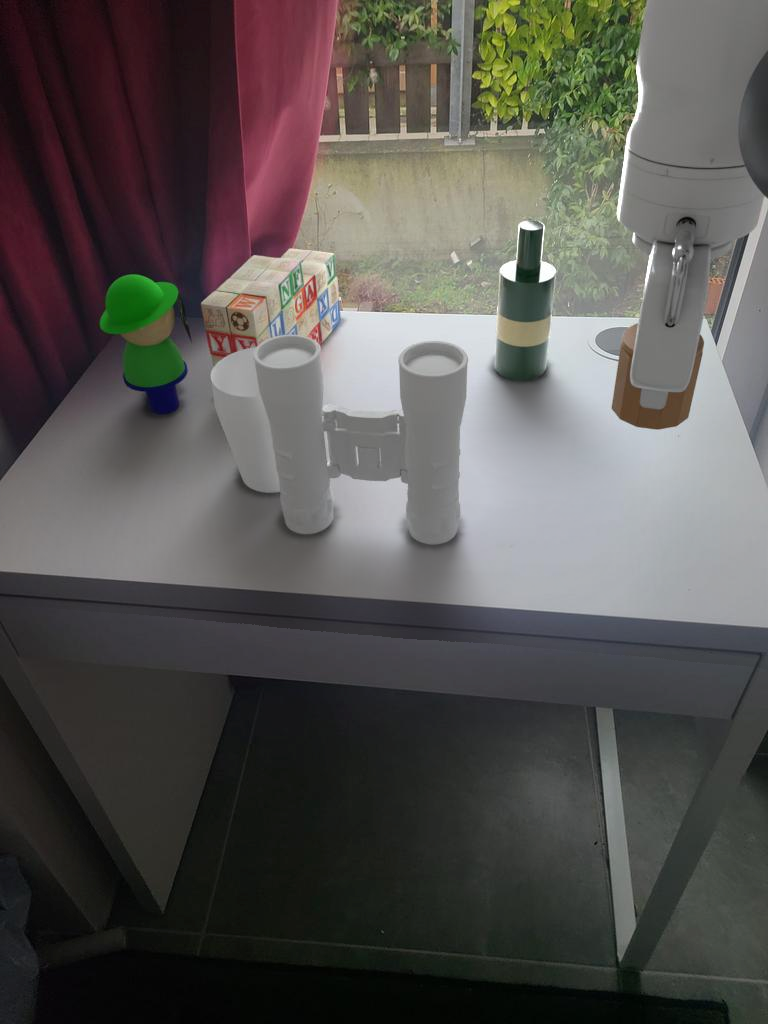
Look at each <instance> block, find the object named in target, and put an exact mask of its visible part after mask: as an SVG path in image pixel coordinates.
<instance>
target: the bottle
mask: <svg viewBox="0 0 768 1024" xmlns="http://www.w3.org/2000/svg"><path fill="white" fill-rule="evenodd" d="M544 233H545V224H544V223H543V222H541V221H538V220H525V221H521V222H520V223H519V224H518V234H517V246H516V248H517V250H516V259H515V260H512V261H508V262H506V263H504V264H502V266H501V267H500V269H499V278H498V279H499V280H498V296H497V298H498V299H497V308H496V321H495V322H496V323H495V324H496V325H495V349H494V366H493V367H494V370H495V372H496V373H497V374H498V375H499V376H500V377H503V378H505V379H509V380H513V381H530V380H534V379H537V378H539V377H541V376H542V375H544V374H545V373H546V370H547V363H548V356H549V355H548V354H549V345H550V336H551V330H552V329H551V328H552V322H553V321H552V320H553V307H554V306H553V305H554V298H555V297H554V296H555V287H556V279H557V278H556V277H557V270H556V267H554V266H553V265H552V264H550V263H548V262H546V261H543V260H542V256H543V244H544Z"/></svg>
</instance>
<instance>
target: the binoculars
mask: <svg viewBox="0 0 768 1024" xmlns="http://www.w3.org/2000/svg"><path fill="white" fill-rule="evenodd" d="M321 353H322V349H321V344H320V345H319V344H318V343H317V342H316V341H315V340H313V339H312V338H309V337H307V336H302V335H281V336H276V337H273V338H270V339H267V340H265V341H264V342H262V343H260V344H259V345H258V346H257V347H256V348H255V350H254V352H253V359H254V362H255V368H256V374H257V380H258V386H259V392H260V395H261V398H262V401H263V404H264V407H265V410H266V413H267V416H268V419H269V421H270V427H271V433H272V440H273V443H272V445H273V449H274V452H275V458H276V470H277V472H278V477H279V487H280V492H279V493H280V496H279V500H280V508H281V511H282V514H283V517H284V523H285V525H286V527H287V528H288V529H289V530H291V531H292V532H294V533H296V534H300V535H313V534H317V533H320V532H323V531H324V530H326V529H327V528H328V527H330V525H331V524H332V523H333V520H334V505H335V503H334V494H333V492H332V488H331V481H330V479H338V478H340V477H341V475H344V476H347V477H350V478H351V479H353V480H358V481H359V480H360V481H366V482H367V481H369V482H388V481H390V480H394V479H398V478H400V481H401V483H404V484H407V493H406V495H407V497H406V498H407V501H406V503H405V512H406V513H405V517H406V519H407V528H408V529H407V530H408V532H409V533H408V534H410V536H411V537H412V539H414V540H415V541H417V542H420V543H422V544H425V545H441V544H444V543H447V542H450V541H451V540H452V539H454V537H455V536H456V535H457V533H458V530H459V522H460V518H461V503H460V489H459V487H460V486H459V483H460V475H461V473H460V456H461V447H460V446H461V425H462V422H463V416H464V412H465V406H466V400H467V391H468V389H467V387H468V363H469V355H468V353H467V352H466V351H465V350H464V349H462V348H461V346H459V345H457V344H454V343H451V342H447V341H442V340H426V341H420V342H417V343H414V344H411V345H409V346H408V347H405V348H404V349H403V350H402V351H401V352H400V354H399V356H398V366H399V367H398V368H399V369H398V370H399V371H398V373H399V375H398V376H399V399H400V403H401V409H399V410H398V409H393V410H387V411H367V410H356V409H349V408H346V407H342V406H336V405H334V404H331V403H330V404H325V405H324V390H325V382H324V375H323V373H324V371H323V363H322V354H321ZM325 434H326V440H325ZM326 445H327V449H326ZM327 453H328V458H327Z"/></svg>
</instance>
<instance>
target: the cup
mask: <svg viewBox="0 0 768 1024" xmlns="http://www.w3.org/2000/svg"><path fill="white" fill-rule="evenodd" d="M255 348H256V347H254V348H248V349H244V350H240V351H237V352H235V353H232V354H230V355H228V356H226V357H224V358H223V359H222V360H220V361H219V362H218V363H217V364H216V365H215V366H213V368H212V370H211V372H210V379H211V380H210V381H211V389H212V396H213V406H214V409H215V412H216V415H217V417H218V421H219V423H220V425H221V428H222V430H223V433H224V436H225V439H226V441H227V444H228V446H229V448H230V451H231V454H232V456H233V458H234V462H235V464H236V466H237V469H238V471H239V474H240V477H241V479H242V482H243V484H245V486H246V487H248V488H249V489H251V490H253V491H255V492H259V493H266V494H275V493H280V487H279V477H278V472H277V470H276V458H275V452H274V449H273V445H272V443H273V440H272V433H271V427H270V421H269V419H268V416H267V413H266V410H265V407H264V404H263V401H262V398H261V395H260V392H259V386H258V380H257V374H256V368H255V362H254V359H253V352H254V350H255Z"/></svg>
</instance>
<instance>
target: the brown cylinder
mask: <svg viewBox="0 0 768 1024" xmlns="http://www.w3.org/2000/svg"><path fill="white" fill-rule="evenodd" d="M637 328H638V322H637V323H635V324H632V325H630V326H629V327H627V328H626V329H625V330H624V332H623V333H622V337H621V343H620V349H619V355H618V360H617V361H618V362H617V369H616V375H615V382H614V388H613V397H612V402H611V410H612V411H613V413H614V414H615V415H616V416H617V418H618V419H619V420H620V421H622V422H625V423H627V424H629V425H631V426H634V427H636V428H642V429H649V430H658V431H659V430H663V429H664V430H665V429H670V428H671V429H672V428H676V427H679V425H681V424H682V423H683V422H685V421H686V420H688V419H689V416H690V412H691V407H692V403H693V398H694V394H695V390H696V385H697V380H698V376H699V373H700V367H701V364H702V363H701V362H702V358H703V354H704V351H703V350H704V346H705V339H704V338H703V336H702V335H701V334H700V337H699V342H698V347H697V351H696V356H695V361H694V366H693V371H692V375H691V378H690V381H689V384H688V386H687V388H686V389H685V390H684V391H682V392H668V396H667V401H666V405H665V407H664V408H662V409H651V408H644V407H642V406H641V405H640V396H641V390H642V388H637V387H634V386H633V385H632V384H631V380H630V370H631V364H632V358H633V352H634V346H635V340H636V334H637Z"/></svg>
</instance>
